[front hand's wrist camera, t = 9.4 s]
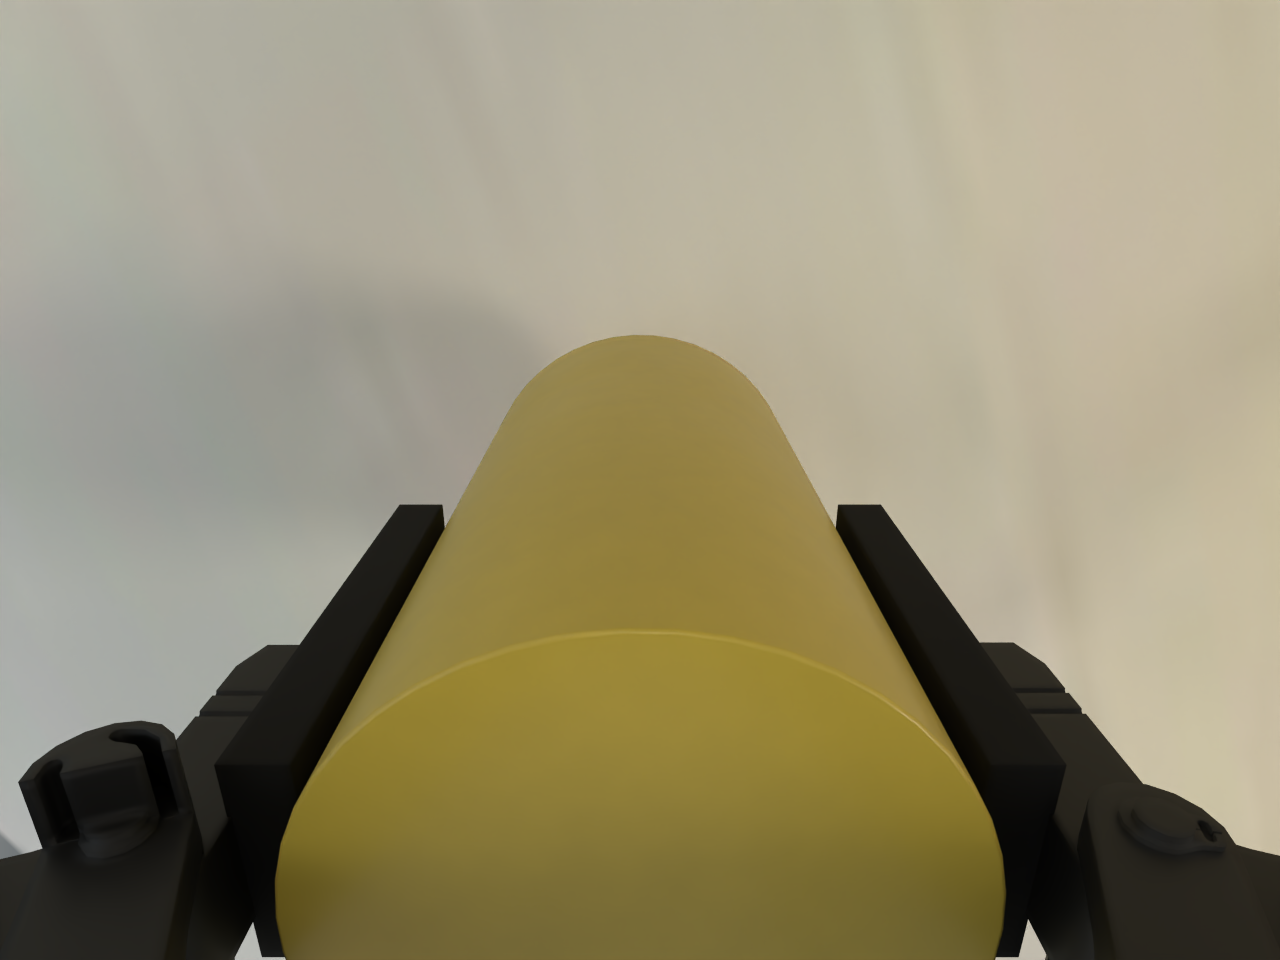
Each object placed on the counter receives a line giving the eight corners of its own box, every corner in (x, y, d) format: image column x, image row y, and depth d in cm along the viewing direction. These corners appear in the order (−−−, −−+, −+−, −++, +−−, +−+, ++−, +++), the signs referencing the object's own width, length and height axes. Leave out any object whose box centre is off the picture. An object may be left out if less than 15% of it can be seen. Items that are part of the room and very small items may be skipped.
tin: (433, 438, 18) (112, 857, 7) (689, 272, 17) (785, 474, 6) (599, 652, 21) (550, 1231, 9) (838, 521, 19) (1115, 1015, 8)
